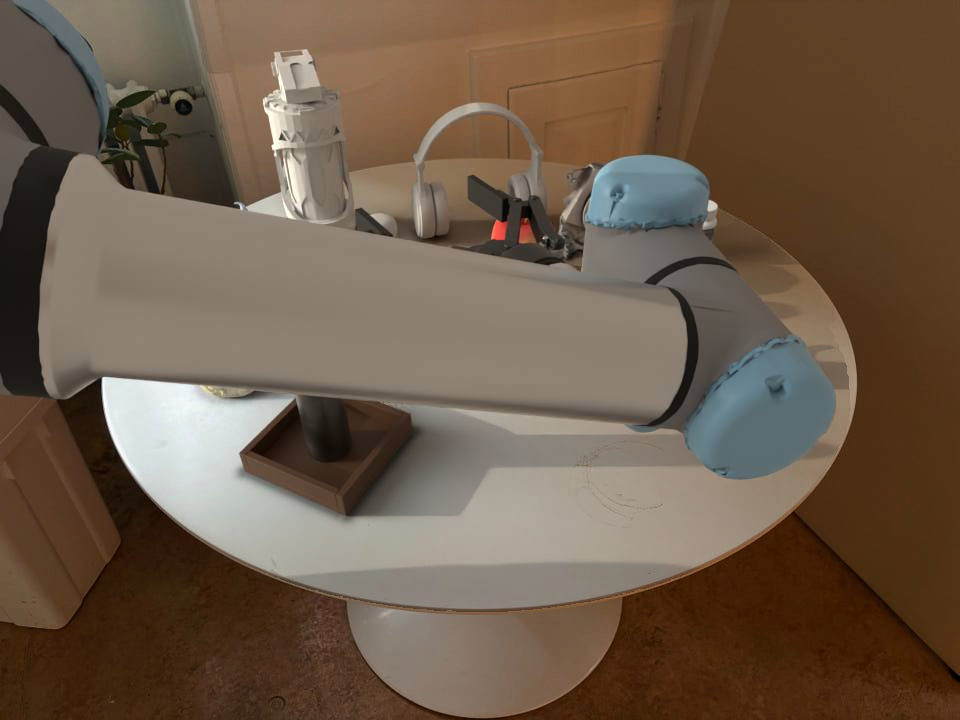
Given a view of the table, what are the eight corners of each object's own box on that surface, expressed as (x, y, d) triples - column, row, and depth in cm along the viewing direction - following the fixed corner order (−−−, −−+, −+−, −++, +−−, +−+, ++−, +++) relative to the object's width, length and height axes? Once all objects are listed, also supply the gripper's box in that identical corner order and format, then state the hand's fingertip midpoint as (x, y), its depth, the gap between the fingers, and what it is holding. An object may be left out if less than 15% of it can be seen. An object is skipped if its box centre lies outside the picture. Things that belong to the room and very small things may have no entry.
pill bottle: (711, 265, 101) (724, 213, 96) (678, 264, 101) (690, 212, 96) (704, 248, 105) (716, 197, 99) (672, 247, 105) (683, 196, 100)
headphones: (532, 209, 114) (539, 90, 102) (547, 235, 108) (556, 111, 95) (412, 222, 111) (403, 101, 98) (419, 249, 104) (412, 123, 92)
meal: (567, 261, 102) (575, 178, 93) (556, 246, 105) (563, 165, 97) (659, 246, 105) (675, 165, 97) (646, 232, 108) (660, 152, 100)
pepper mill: (298, 453, 72) (275, 357, 64) (325, 424, 75) (306, 330, 67) (335, 468, 70) (315, 372, 62) (360, 438, 74) (345, 343, 65)
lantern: (363, 243, 106) (342, 75, 90) (294, 254, 103) (260, 83, 87) (348, 205, 115) (327, 46, 99) (284, 214, 113) (252, 53, 96)
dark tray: (244, 471, 71) (238, 453, 69) (318, 396, 80) (314, 378, 78) (346, 516, 67) (342, 498, 65) (412, 431, 76) (411, 413, 74)
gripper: (419, 385, 57) (312, 268, 70) (638, 289, 68) (510, 204, 81) (415, 311, 52) (301, 201, 65) (651, 221, 63) (512, 142, 76)
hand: (416, 202), depth 73 cm, fingers open, 13 cm apart
